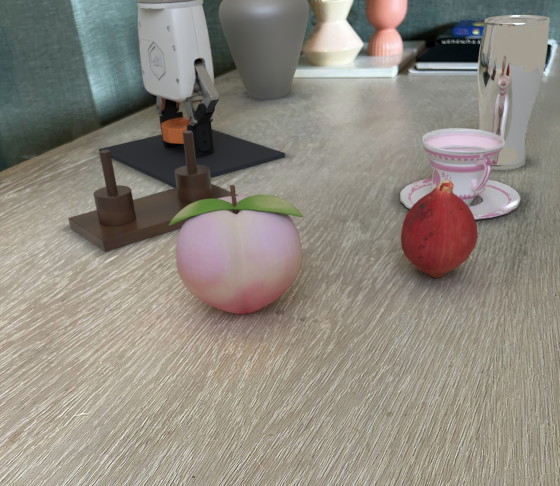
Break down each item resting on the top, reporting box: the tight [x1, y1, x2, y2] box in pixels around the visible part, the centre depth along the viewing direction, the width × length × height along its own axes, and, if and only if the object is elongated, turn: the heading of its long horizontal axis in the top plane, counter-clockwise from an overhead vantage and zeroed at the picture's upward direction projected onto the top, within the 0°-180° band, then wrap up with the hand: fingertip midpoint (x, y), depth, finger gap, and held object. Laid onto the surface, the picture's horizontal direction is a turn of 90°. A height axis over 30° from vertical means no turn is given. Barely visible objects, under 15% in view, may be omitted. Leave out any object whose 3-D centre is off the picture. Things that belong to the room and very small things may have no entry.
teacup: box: [399, 127, 522, 220], centre depth 67 cm, size 12×12×6 cm
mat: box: [98, 129, 286, 188], centre depth 87 cm, size 20×16×1 cm
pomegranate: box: [400, 180, 479, 279], centre depth 53 cm, size 6×6×8 cm
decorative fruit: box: [169, 184, 304, 315], centre depth 49 cm, size 9×8×10 cm
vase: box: [218, 0, 310, 101], centre depth 107 cm, size 14×14×25 cm
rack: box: [67, 131, 240, 253], centre depth 67 cm, size 8×16×8 cm, turn 128°
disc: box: [160, 116, 190, 144], centre depth 85 cm, size 6×6×2 cm
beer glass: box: [476, 14, 551, 171], centre depth 74 cm, size 7×7×15 cm
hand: (188, 149), depth 87 cm, fingers closed on disc, 6 cm apart
